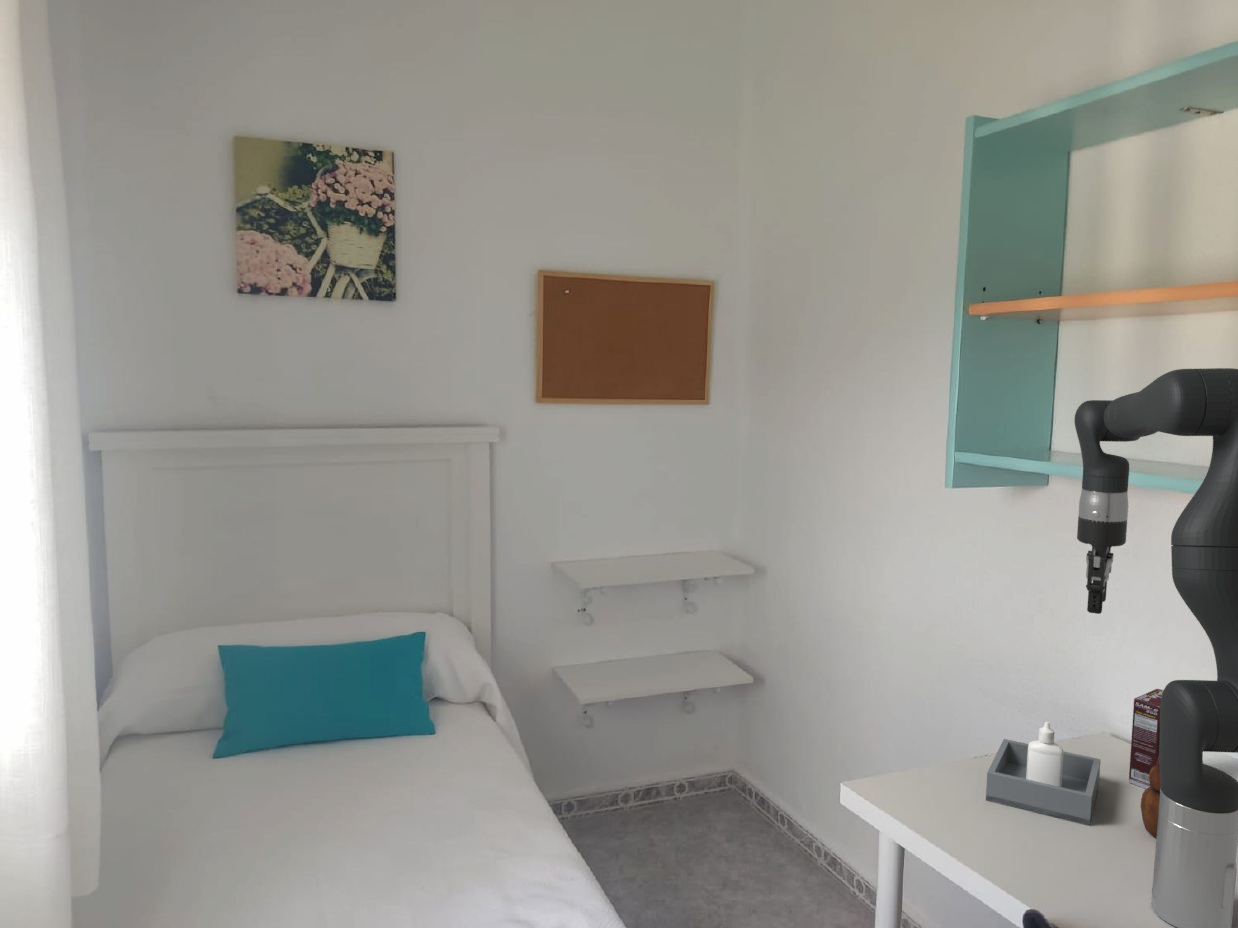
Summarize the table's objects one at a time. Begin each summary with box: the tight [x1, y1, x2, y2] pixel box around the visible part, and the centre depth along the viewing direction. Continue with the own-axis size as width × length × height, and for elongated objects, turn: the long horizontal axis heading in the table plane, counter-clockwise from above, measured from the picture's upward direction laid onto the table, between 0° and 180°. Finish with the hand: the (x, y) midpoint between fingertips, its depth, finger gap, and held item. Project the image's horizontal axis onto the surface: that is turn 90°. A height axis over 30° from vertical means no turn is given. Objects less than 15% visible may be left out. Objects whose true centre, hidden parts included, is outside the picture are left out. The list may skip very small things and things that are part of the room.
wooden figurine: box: [1140, 756, 1161, 839], centre depth 145 cm, size 7×6×15 cm
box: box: [985, 738, 1102, 827], centre depth 159 cm, size 16×16×5 cm
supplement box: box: [1128, 688, 1164, 790], centre depth 163 cm, size 9×5×16 cm, turn 124°
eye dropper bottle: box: [1026, 721, 1064, 787], centre depth 159 cm, size 4×6×12 cm
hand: (1096, 606), depth 160 cm, fingers open, 8 cm apart
